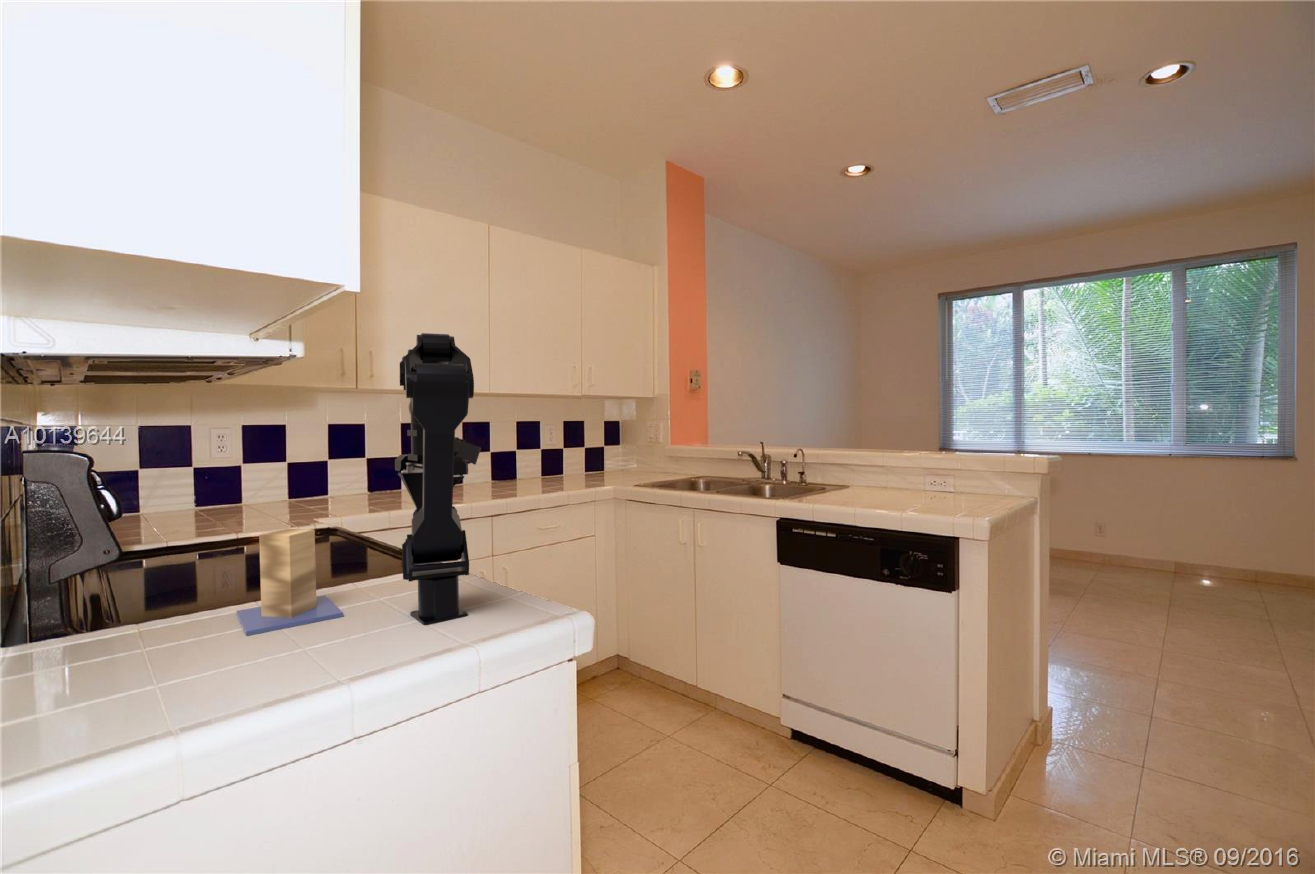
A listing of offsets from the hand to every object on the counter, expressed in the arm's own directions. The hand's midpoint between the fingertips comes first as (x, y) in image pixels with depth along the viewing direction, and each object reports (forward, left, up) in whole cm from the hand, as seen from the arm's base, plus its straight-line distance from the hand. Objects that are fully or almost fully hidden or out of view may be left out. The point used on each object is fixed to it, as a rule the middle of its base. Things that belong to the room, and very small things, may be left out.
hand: (430, 514), depth 102 cm
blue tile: (+1, +21, -13) cm, 25 cm away
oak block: (+1, +21, -12) cm, 24 cm away
